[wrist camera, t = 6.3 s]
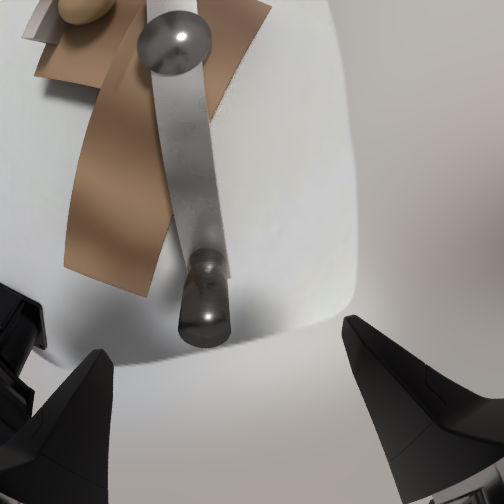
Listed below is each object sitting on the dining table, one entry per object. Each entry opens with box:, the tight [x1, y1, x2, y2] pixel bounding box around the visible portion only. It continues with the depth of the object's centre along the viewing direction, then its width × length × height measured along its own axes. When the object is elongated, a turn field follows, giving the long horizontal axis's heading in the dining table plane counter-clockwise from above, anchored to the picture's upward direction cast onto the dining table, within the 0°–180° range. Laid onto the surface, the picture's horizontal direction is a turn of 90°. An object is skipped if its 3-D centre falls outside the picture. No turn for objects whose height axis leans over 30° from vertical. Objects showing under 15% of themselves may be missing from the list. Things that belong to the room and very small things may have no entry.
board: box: [21, 0, 272, 297], centre depth 10 cm, size 18×11×5 cm, turn 155°
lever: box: [137, 0, 231, 348], centre depth 9 cm, size 16×3×6 cm, turn 5°
